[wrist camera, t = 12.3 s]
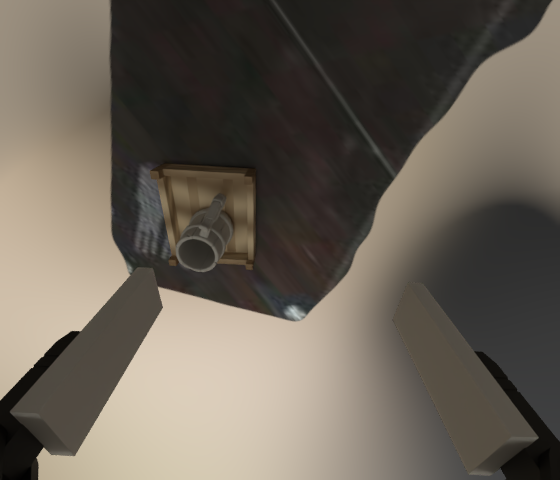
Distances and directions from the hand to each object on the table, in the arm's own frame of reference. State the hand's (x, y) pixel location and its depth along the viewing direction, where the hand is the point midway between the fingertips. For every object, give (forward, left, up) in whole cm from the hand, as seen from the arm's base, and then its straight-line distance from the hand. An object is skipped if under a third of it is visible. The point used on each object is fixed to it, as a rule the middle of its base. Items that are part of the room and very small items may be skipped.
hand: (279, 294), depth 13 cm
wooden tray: (+10, -12, -31) cm, 34 cm away
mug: (+9, -11, -30) cm, 33 cm away
